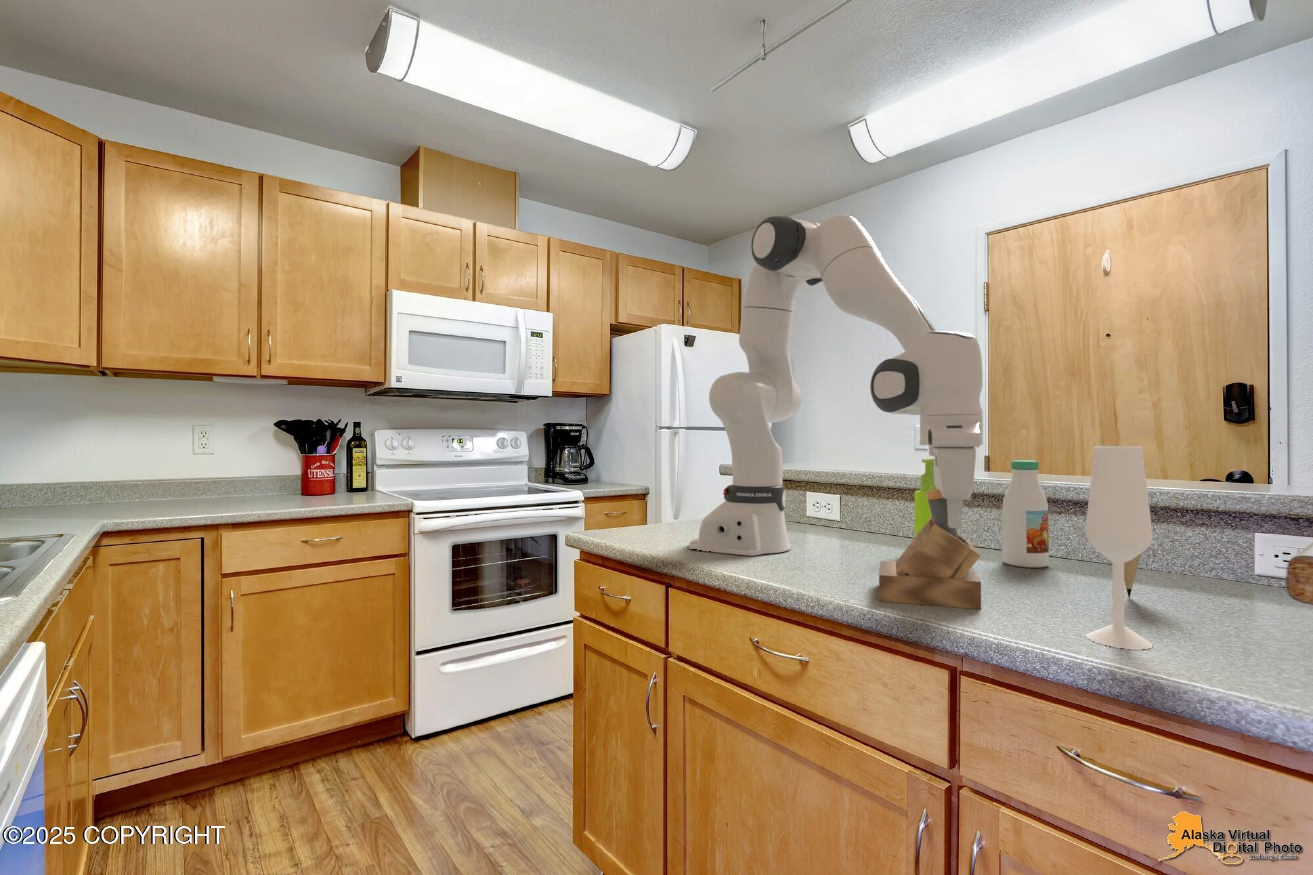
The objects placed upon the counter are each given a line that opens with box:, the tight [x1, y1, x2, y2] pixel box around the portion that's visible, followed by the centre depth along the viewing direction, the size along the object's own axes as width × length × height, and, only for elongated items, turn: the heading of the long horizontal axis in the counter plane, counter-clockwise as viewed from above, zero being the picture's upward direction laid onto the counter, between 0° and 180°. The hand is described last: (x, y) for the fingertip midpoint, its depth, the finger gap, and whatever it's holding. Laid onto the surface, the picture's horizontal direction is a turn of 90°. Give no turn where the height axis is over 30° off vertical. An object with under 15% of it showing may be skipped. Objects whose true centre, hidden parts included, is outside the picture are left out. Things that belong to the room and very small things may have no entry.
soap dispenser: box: [914, 458, 937, 538], centre depth 130 cm, size 6×7×20 cm
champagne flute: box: [1084, 445, 1154, 651], centre depth 77 cm, size 7×7×24 cm
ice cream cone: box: [1124, 524, 1153, 599], centre depth 96 cm, size 6×6×15 cm
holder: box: [878, 517, 982, 610], centre depth 98 cm, size 14×11×12 cm
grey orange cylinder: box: [925, 489, 959, 540], centre depth 97 cm, size 3×3×10 cm
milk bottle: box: [1001, 459, 1050, 569], centre depth 120 cm, size 8×8×20 cm
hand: (951, 522), depth 97 cm, fingers open, 8 cm apart
